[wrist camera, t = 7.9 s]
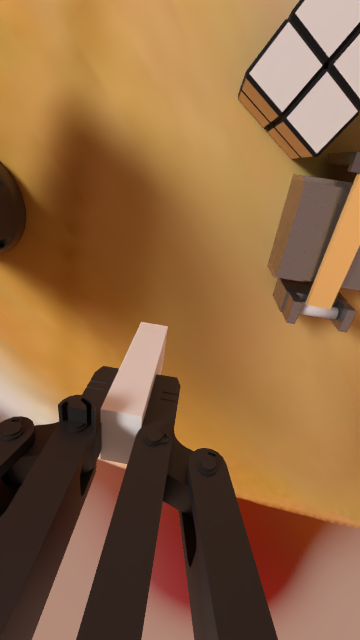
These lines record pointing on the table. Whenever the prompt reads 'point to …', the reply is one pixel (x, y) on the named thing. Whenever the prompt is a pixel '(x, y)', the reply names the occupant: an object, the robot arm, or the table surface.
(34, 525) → the robot arm
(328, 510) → the table surface
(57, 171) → the table surface
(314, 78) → the puzzle cube
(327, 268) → the strap
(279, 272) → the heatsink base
